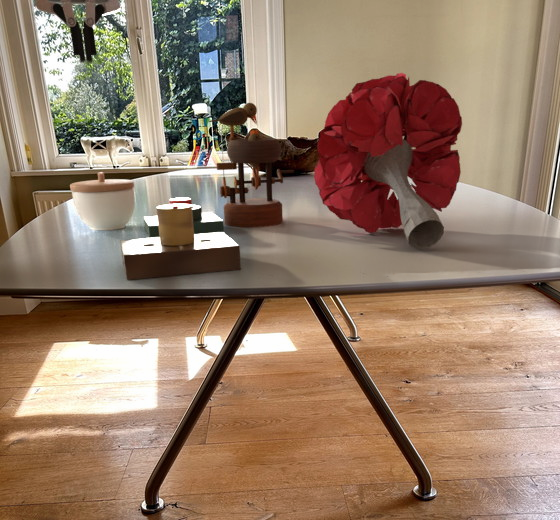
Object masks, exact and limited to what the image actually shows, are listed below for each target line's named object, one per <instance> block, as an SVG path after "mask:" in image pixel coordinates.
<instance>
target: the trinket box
mask: <svg viewBox="0 0 560 520" xmlns="http://www.w3.org/2000/svg"><path fill="white" fill-rule="evenodd" d="M69 188H70V191H71V197H72V202H73V205H74V208H75V210H76V211H75V212H76V214H77V215H78V217H79V219H80V220H81V222H83V223H84V224H85V225H86V226H88V227H89V228H90V230H91V231H99V232H100V231H103V232H104V231H117V230H121V229H125V228H126V227H127V224H128V223H129V222H130V220H131V219H132V217H133V215H134V211H135V205H136V197H135V196H136V195H135V182H134V180H132V179H123V178H122V179H119V178H108V179H105V173H104V172H103V171H101V172H97V179H91V180H83V181H82V180H81V181H76V182H72V183H70V184H69Z"/></svg>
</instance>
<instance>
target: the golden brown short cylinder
mask: <svg viewBox="0 0 560 520" xmlns="http://www.w3.org/2000/svg"><path fill="white" fill-rule="evenodd" d="M192 205H193V204H192ZM192 205H189V204H170V203H169V204H162V205H158V206H156V216H157V218H158V227H159V237H160V244H162V245H167V246H179V245H187V244H191V243H194V242H195V237H194V225H193V213H192Z"/></svg>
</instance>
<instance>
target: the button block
mask: <svg viewBox="0 0 560 520" xmlns="http://www.w3.org/2000/svg"><path fill="white" fill-rule="evenodd" d="M192 213H193V225H194V235H195V234H208V233H220V232H224V233H225V227H224V225H225V224H224V220H223V219H222V218H220V217H219V216H218V215H216V214H215V213H214V212H212V211H211V212H203V210H202V206H201V205H196V204H192ZM142 218H143V228H144V231H145V233H146V235H147V236H148V238H156V237H159V227H158V218H157V215H153V216H152V215H151V216H143V217H142Z"/></svg>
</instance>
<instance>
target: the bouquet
mask: <svg viewBox="0 0 560 520" xmlns="http://www.w3.org/2000/svg"><path fill="white" fill-rule="evenodd" d="M462 127H463V117H462V116H461V112H460V107H459V105H458V103H457V101H456V100H455V98H454V97H452V95H451V94H450V92H448V90H447V89H446V88H445V87H443V86H442V85H440V84H439V83H437V82H435V81H429V80H426V79H419V80H418V81H416V82H415V83H414V84H413V85H412V84H411V85H410V76H408V78H407V75H406V73H403V72H399V73H396V74H395V75H390V74H388V75H386V76H382V77H380V78H371V79H368V80H366V81H361V82H357V83H355V85H354V86H353V87H352V89H351V92H349V93H348V94H347V96H345V99H340V100H338V101H337V102H336V104H334V105H333V106H332V108H331V109H330V110H329V111H328V113H327V115H326V119H325V121H324V127H323V129H322V130H321V131H320V132H319V134H318V136H319V138H318V142H317V154H318V162H317V163H316V165H315V167H314V171H313V180H314V183H315V185H316V187H317V189H318V195H319V197H320V199H321V201H322V204H323V205H324V206H326V207H327V209H328V210H329V211H330V212H331V213H332V214H334V215H335V216H336V217H337V218H338V219H339V220H343V221H350V222H352V224H353V225H355V226H356V227H357V228H359V229H362V230H364V232H366V233H367V234H373V233H377V232H378V230H379V229H382V230H383V229H389V228H393V229H394V228H395V229H398V228H399V227H401V226H402V228H403V235H404V237H405V238H406V240H407V243H408V244H409V246H410V247H411V248H413V249H415V250H424V249H428V248H431V247H433V246H434V245H436V244H437V243H438V242H439V241H441V239H442V237H443V235H444V232H445V226H444V225H443V223H442V220H441V219H440V217H439V215H438V214H437V212H436V211H438V212H441V213H442V212H443V209H446V208H448V206H449V205H450V204H451V202H452V200H453V197H454V195H455V192H456V191H457V185H458V184H459V181H460V179H461V174H462V172H461V163H460V161H461V160H460V157H461V156H460V154H459V149H452V146H455V145H457V141H458V135H459V134H460V133H461V131H462ZM409 179H411V181H412V183H411V182H410V181H409ZM391 190H392V193H391V194H390V192H391ZM435 210H436V211H435Z"/></svg>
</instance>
